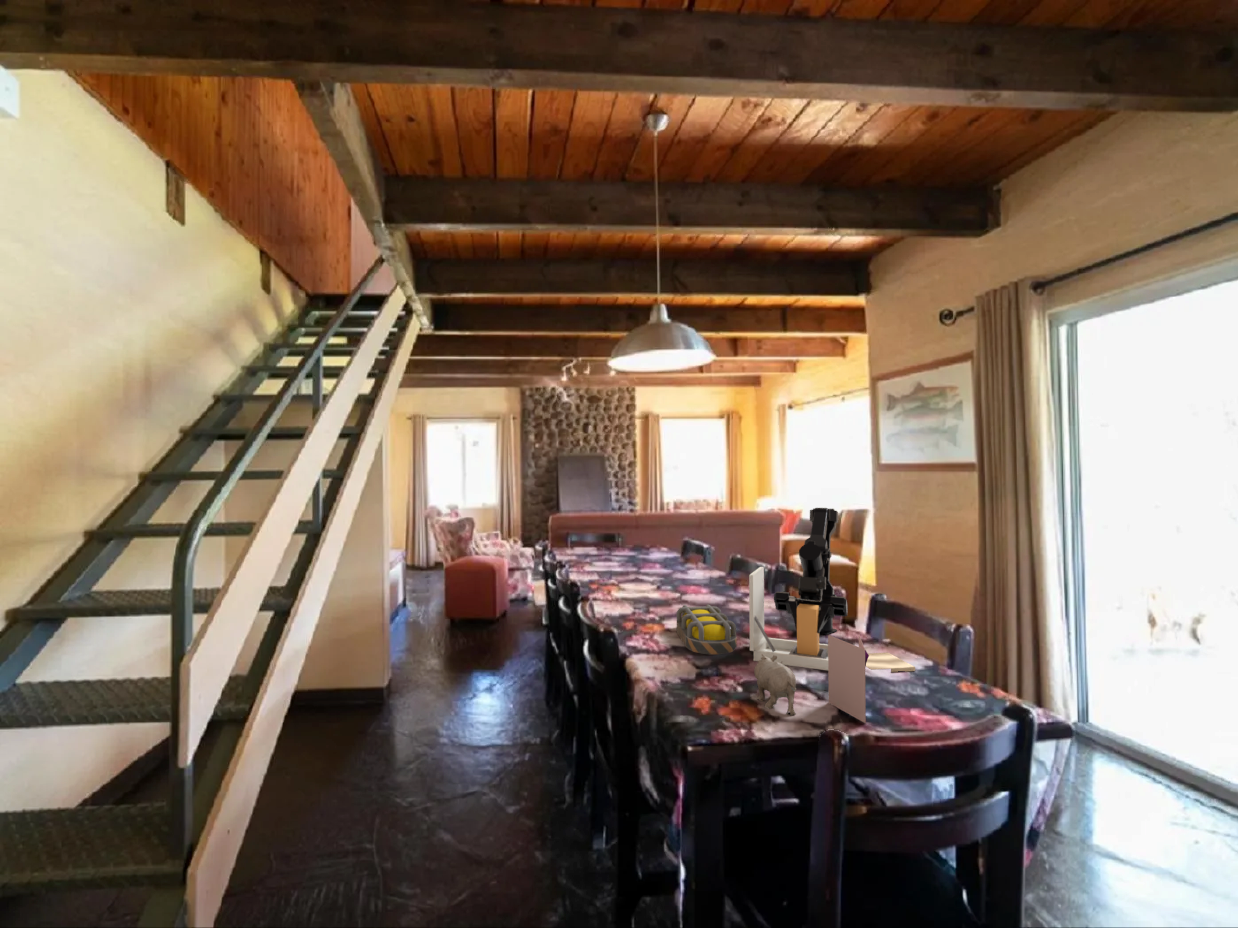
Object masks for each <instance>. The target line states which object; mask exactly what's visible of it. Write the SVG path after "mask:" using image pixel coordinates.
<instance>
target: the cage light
mask: <svg viewBox="0 0 1238 928" xmlns="http://www.w3.org/2000/svg"><path fill="white" fill-rule="evenodd" d="M676 634H677V636H678V637H679V638H680V640H681V642H682V643H683V645H684V647H685V648H686V649H687V650H689V651H691V652H694V653H698V654H703V655H726V654H730V653H733V652H734V651H735V650H736V648H737V644H738V643H737V640H738V639H737V626H736V623H734V622H733V621H732V620H729V618H728V616H727V614H725V613H722V610H721V608H720V607H719V606H718V607H717V606H716V605H715V606H714V605H713V606H712V605H710V604H708V603H707V604H706V605H705V606H688V605H686V604H683V605H682V607H680V608H678V609H677V611H676Z"/></svg>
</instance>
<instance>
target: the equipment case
mask: <svg viewBox="0 0 1238 928" xmlns="http://www.w3.org/2000/svg"><path fill="white" fill-rule="evenodd" d="M748 575H749V576H748V577H749V579H748V580H749V581H748V589H749V592H748V594H749V596H748V597H749V599H748V601H749V602H748V603H749V605H748V606H749V607H748V609H749V611H748V613H749V651H751V652H753V662H758V661H759V660H761V657H763V656H762V655H761V654H763V655H764V656H766V657H768V658H770V659H771V658H772V657H773V655H775V656H777V659H776V660H774V662H775V661H776V662H779V663H781V661H783V663H782V664H783V665H785V666H790V667H798V668H799V667H800V668H806V669H812V670H813V669H814V670H821V671H828V643H820V642H819V652H818V654H817V656H815V655H807V654H799V653H797V640H791V639H783V638H774V637H769V636H768V634H767V633H766V631H765V580H764V579H765V567H764V566H759V567H758V568H756V569H755V570H754V571H753V572H751V573H750V574H748Z"/></svg>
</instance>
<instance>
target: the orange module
mask: <svg viewBox="0 0 1238 928" xmlns="http://www.w3.org/2000/svg"><path fill="white" fill-rule="evenodd" d="M818 621H819V605H809V604H799V605H798V607H797V631H796V641H797V653H799V654H807V655H815V656H817V654H818V652H819V643H820V633H817V626H818Z"/></svg>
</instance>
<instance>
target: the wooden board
mask: <svg viewBox="0 0 1238 928" xmlns="http://www.w3.org/2000/svg"><path fill="white" fill-rule="evenodd" d="M867 653H868V652H867ZM868 655H869V657H868V659H867V662H866V667H865V668H868V669H870V670H871V671H873V670H889V669H890V673H899V672H898V671H905V672H915V671H916V666H915V665H912V664H911V663H908V662H907V661H905V660H903V659H901V658H899V657H897V656H896V655H893V654H892V653H890V652H873V653H868Z"/></svg>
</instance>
